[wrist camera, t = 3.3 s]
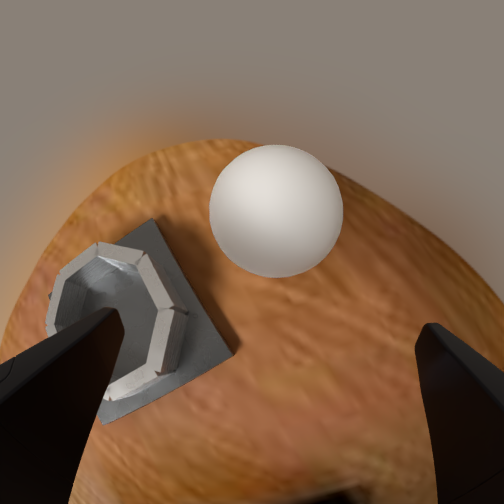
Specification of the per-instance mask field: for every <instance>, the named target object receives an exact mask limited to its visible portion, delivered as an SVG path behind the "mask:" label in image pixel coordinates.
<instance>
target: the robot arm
mask: <svg viewBox="0 0 504 504" xmlns="http://www.w3.org/2000/svg"><path fill="white" fill-rule="evenodd" d="M124 335H125V329H124V326H123V323H122V320H121V317H120V314H119V311H118V310H117V309H116V308H112V307H103V308H101V309H99V310H98V311H96V312H94V313H92V314H90V315H88V316H86V317H85V318H83V319H81V320H79V321H77V322H75V323H74V324H72V325H70V326H68V327H66V328H65V329H63V330H61V331H59V332H57V333H56V334H54V335H52V336H50V337H48V338H47V339H45V340H43V341H41V342H39V343H38V344H36V345H34V346H32V347H31V348H29V349H27V350H25V351H23V352H22V353H20V354H18V355H16V357H13V358H11V359H9V360H8V361H6V362H4V363H2V364H0V504H68V502H69V498H70V494H71V491H72V487H73V483H74V480H75V476H76V473H77V470H78V467H79V464H80V461H81V457H82V454H83V451H84V448H85V446H86V443H87V440H88V437H89V434H90V431H91V429H92V426H93V423H94V420H95V418H96V415H97V412H98V410H99V407H100V405H101V402H102V400H103V397H104V395H105V392H106V390H107V387H108V385H109V382H110V380H111V377H112V374H113V371H114V368H115V364H116V361H117V358H118V355H119V351H120V348H121V345H122V342H123V339H124ZM415 355H416V361H417V367H418V374H419V381H420V388H421V394H422V399H423V404H424V408H425V413H426V418H427V423H428V428H429V433H430V439H431V445H432V451H433V458H434V466H435V474H436V484H437V496H438V504H504V373H503V372H502V371H501V370H500V369H498V368H497V367H496V366H495V365H493V364H492V363H491V362H489V361H488V360H487V359H486V358H484V357H483V356H482V355H480V354H479V353H478V352H476V351H475V350H474V349H473V348H471V347H470V346H469V345H467V344H466V343H465V342H463V341H462V340H460V339H459V338H458V337H456V336H455V335H454V334H452V333H451V332H450V331H448V330H447V329H445V328H444V327H443V326H441V325H440V324H438V323H427V324H425V325H424V326H423V328H422V330H421V333H420V335H419V337H418V339H417V342H416V344H415Z"/></svg>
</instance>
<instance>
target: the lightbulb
mask: <svg viewBox="0 0 504 504" xmlns="http://www.w3.org/2000/svg"><path fill="white" fill-rule="evenodd" d="M209 208H210V224H211V228H212V232H213V235H214V237H215V239H216V241H217V243H218V245H219V247H220V248H221V250H222V251H223V252H224V253H225V255H226V256H227V257H228V258H229V259H230V260H231V261H232V262H234V263H235V264H236V265H237V266H239V267H241V268H243V269H244V270H246V271H248V272H250V273H253V274H256V275H260V276H263V277H272V278H282V277H290V276H293V275H297V274H300V273H303V272H305V271H307V270H309V269H311V268H313V267H314V266H316V265H317V264H318V263H319V262H321V261H322V260H323V259H324V258H325V257H326V256H327V255H328V253H329V252H330V251H331V249H332V248H333V246H334V245H335V243H336V241H337V238H338V236H339V234H340V231H341V226H342V221H343V202H342V198H341V194H340V190H339V187H338V185H337V183H336V181H335V179H334V177H333V175H332V174H331V173H330V171H329V170H328V169H327V167H325V166H324V165H323V164H322V163H321V162H320V161H319V160H318V159H316V157H314V156H312V155H311V154H309V153H307V152H305V151H303V150H301V149H298V148H295V147H290V146H286V145H265V146H261V147H257V148H253V149H251V150H249V151H246V152H244V153H243V154H241V155H239V156H238V157H236V158H235V159H234V160H233V161H232V162H231V163H230V164H229V165H227V166H226V167H225V168H224V170H223V171H222V172H221V174H220V175H219V177H218V178H217V181H216V183H215V185H214V188H213V191H212V194H211V199H210V204H209Z"/></svg>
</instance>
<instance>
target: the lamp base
mask: <svg viewBox="0 0 504 504" xmlns="http://www.w3.org/2000/svg"><path fill="white" fill-rule="evenodd" d="M60 274H61V275H58V274H57V277H56V281H55V284H54V288H53V291H52V292H51V293H50V294H49V295H48V296H49V299H50V304H49V308H48V312H47V317H46V321H45V323H46V324H48V326H46V327H45V328H46V331H47V334H48V337H50V336H52V335H54V334H56V333H57V332H59V331H61V330H63V329H65V328H66V327H68V326H70V325H72V324H74V323H75V322H77V321H79V320H81V319H83V318H85V317H86V316H88V315H90V314H92V313H94V312H96V311H98V310H99V309H101V308H103V307H112V308H116V309H117V310H118V311H119V314H120V317H121V320H122V323H123V326H124V329H125V335H124V339H123V342H122V345H121V348H120V351H119V355H118V358H117V361H116V364H115V368H114V371H113V374H112V377H111V380H110V382H109V385H108V387H107V390H106V392H105V395H104V397H103V400H102V402H101V405H100V407H99V410H98V412H97V415H98V417H99V419H100V421H101V423H102V424H103V425H105V424H108V423H111V422H113V421H115V420H117V419H119V418H121V417H123V416H125V415H127V414H129V413H131V412H133V411H135V410H137V409H139V408H141V407H143V406H145V405H147V404H149V403H151V402H153V401H155V400H157V399H159V398H161V397H163V396H164V395H166V394H168V393H170V392H172V391H174V390H175V389H177V388H179V387H181V386H183V385H185V384H186V383H188V382H190V381H192V380H193V379H195V378H197V377H199V376H200V375H202V374H204V373H206V372H207V371H209V370H211V369H212V368H214V367H216V366H217V365H219V364H221V363H222V362H224V361H226V360H227V359H229V358H231V357H232V356H234V353H233V352H232V350H231V349H230V347H229V345H228V344H227V342H226V341H225V339H224V338H223V336H222V335H221V333H220V331H219V330H218V328H217V327H216V325H215V323H214V322H213V320H212V319H211V317H210V315H209V314H208V312H207V310H206V309H205V307H204V306H203V304H202V302H201V301H200V299H199V297H198V296H197V294H196V292H195V291H194V289H193V287H192V285H191V284H190V282H189V280H188V279H187V277H186V275H185V273H184V272H183V270H182V268H181V266H180V265H179V263H178V261H177V259H176V257H175V256H174V254H173V252H172V250H171V248H170V247H169V245H168V243H167V241H166V239H165V237H164V236H163V234H162V232H161V230H160V228H159V226H158V224H157V223H156V222H155V220H154V219H153V218H151V219H150V220H148V221H147V222H145V223H144V224H142V225H141V226H139V227H138V228H136V229H135V230H134V231H132V232H131V233H129V234H128V235H126V236H125V237H124V238H122V239H121V240H119V241H118V242H116V243H115V244H114V245H113V244H108V243H104V242H99V243H98V244H97V243H94V244H93V245H92V246H90V247H89V248H88V249H86V250H85V251H84V252H82V253H81V254H80V255H79V256H77V257H76V258H75V259H73V260H72V261H71V262H70V263H68V264H67V265H66V266H65V267H64V268H62V269H61V270H60Z"/></svg>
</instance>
